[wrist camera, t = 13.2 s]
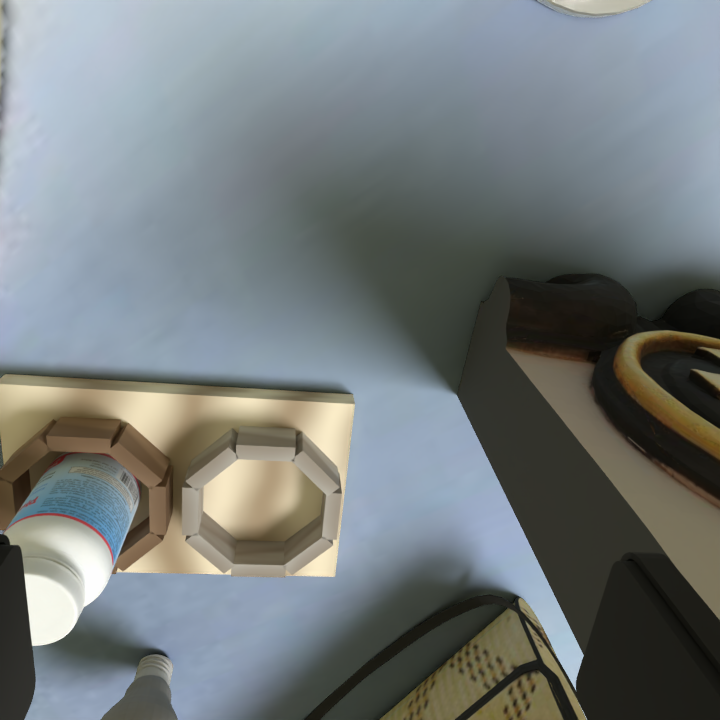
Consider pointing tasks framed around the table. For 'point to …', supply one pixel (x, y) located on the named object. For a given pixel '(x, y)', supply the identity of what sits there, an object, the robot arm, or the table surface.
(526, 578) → the table surface
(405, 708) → the clutch purse
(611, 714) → the robot arm
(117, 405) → the holder board
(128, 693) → the light bulb
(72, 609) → the pill bottle
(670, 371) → the dark gray upright block
